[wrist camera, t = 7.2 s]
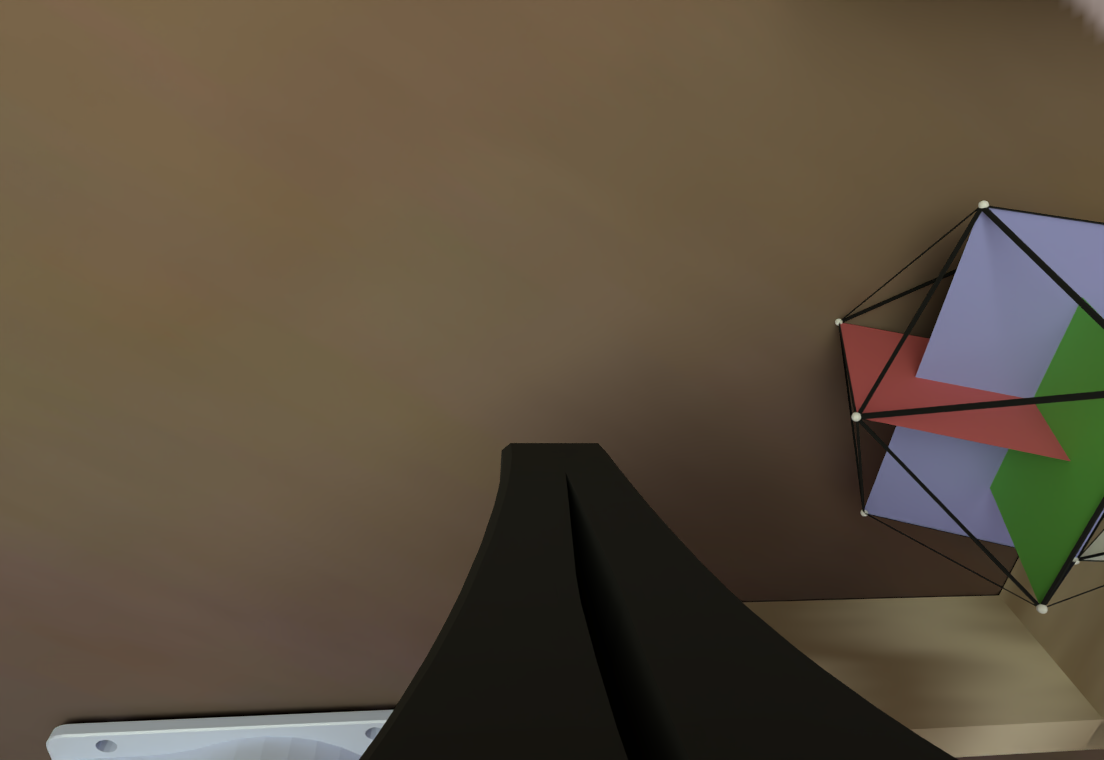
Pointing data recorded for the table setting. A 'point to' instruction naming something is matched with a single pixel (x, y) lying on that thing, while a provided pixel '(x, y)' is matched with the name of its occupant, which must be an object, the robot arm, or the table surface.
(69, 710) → the table surface
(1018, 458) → the geometric puzzle
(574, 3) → the table surface
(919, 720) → the beige piece
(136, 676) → the table surface
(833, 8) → the table surface
